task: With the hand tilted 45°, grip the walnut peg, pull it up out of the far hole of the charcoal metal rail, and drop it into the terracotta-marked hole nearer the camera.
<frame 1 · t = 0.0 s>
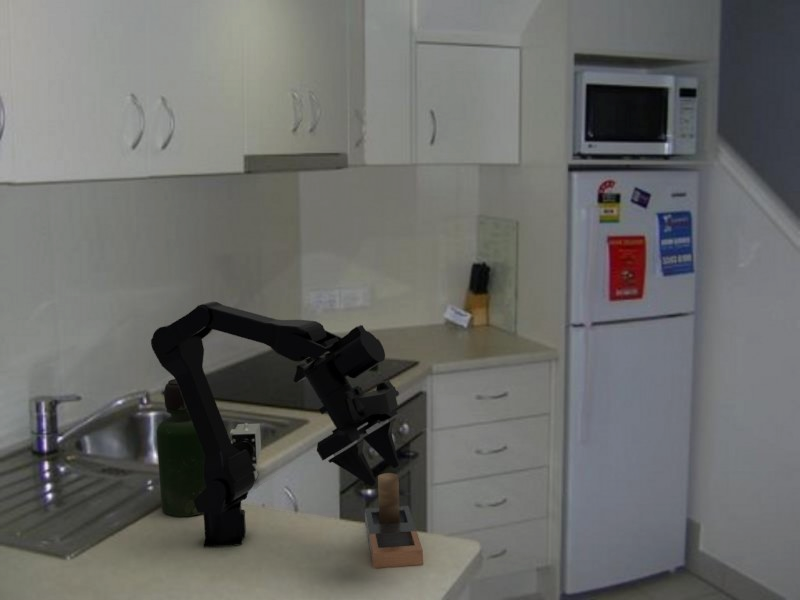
hand: (385, 475, 146), 15 cm above the worktop, tool tilted 35°, fingers open, 9 cm apart
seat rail: (392, 541, 157), on the worktop
spray bottle: (189, 508, 176), on the worktop
walnut peg: (389, 530, 162), resting in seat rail
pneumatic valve: (246, 480, 192), on the worktop
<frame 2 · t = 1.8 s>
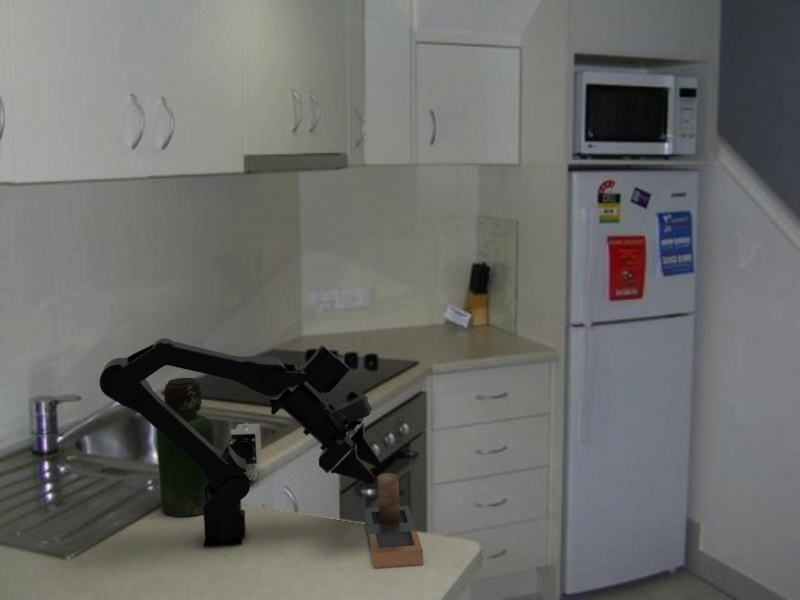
hand: (376, 473, 161), 11 cm above the worktop, tool tilted 45°, fingers open, 9 cm apart
nothing on the worktop moved.
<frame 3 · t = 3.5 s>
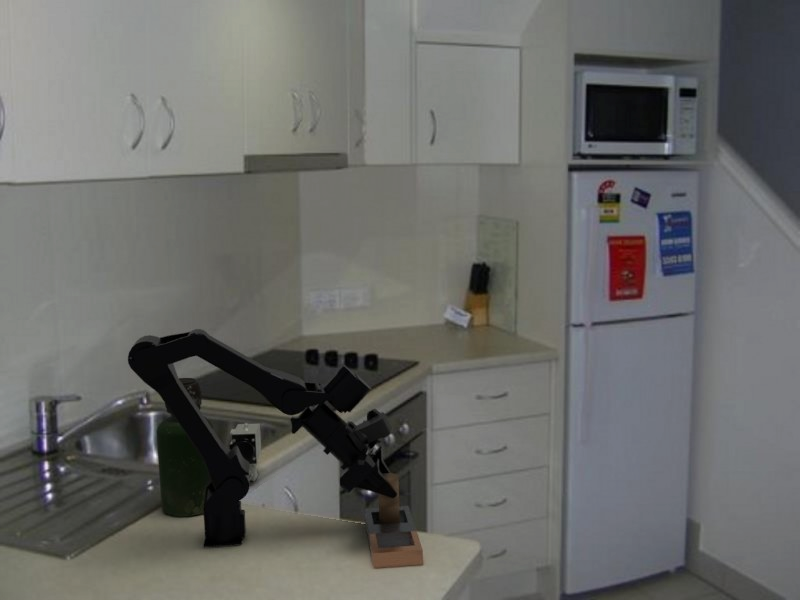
hand: (396, 492, 161), 7 cm above the worktop, tool tilted 45°, fingers closed on walnut peg, 4 cm apart
walnut peg: (389, 530, 162), resting in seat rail, touching gripper
everything else where it was.
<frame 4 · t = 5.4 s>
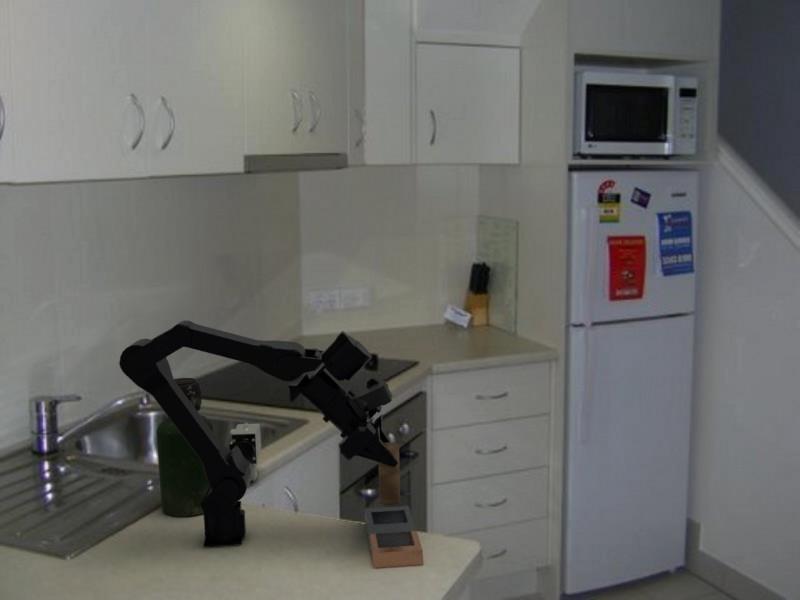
hand: (396, 461, 158), 13 cm above the worktop, tool tilted 45°, fingers closed on walnut peg, 4 cm apart
walnut peg: (389, 501, 159), point 6 cm above the worktop, touching gripper
everything else where it was.
when the fingers open (8 cm above the worktop, at t = 7.4 s): walnut peg drops 1 cm, resting in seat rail.
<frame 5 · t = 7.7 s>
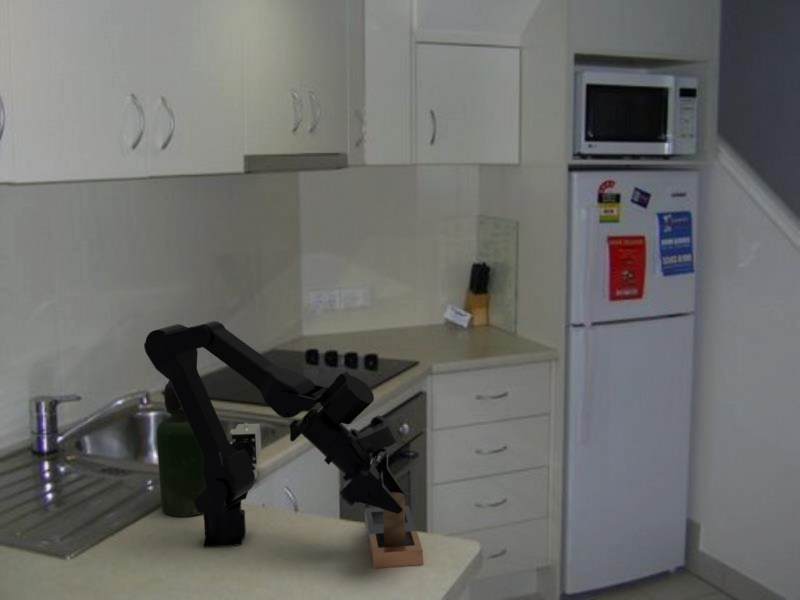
hand: (402, 504, 151), 9 cm above the worktop, tool tilted 45°, fingers open, 6 cm apart
walnut peg: (394, 553, 152), resting in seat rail
everything else where it was.
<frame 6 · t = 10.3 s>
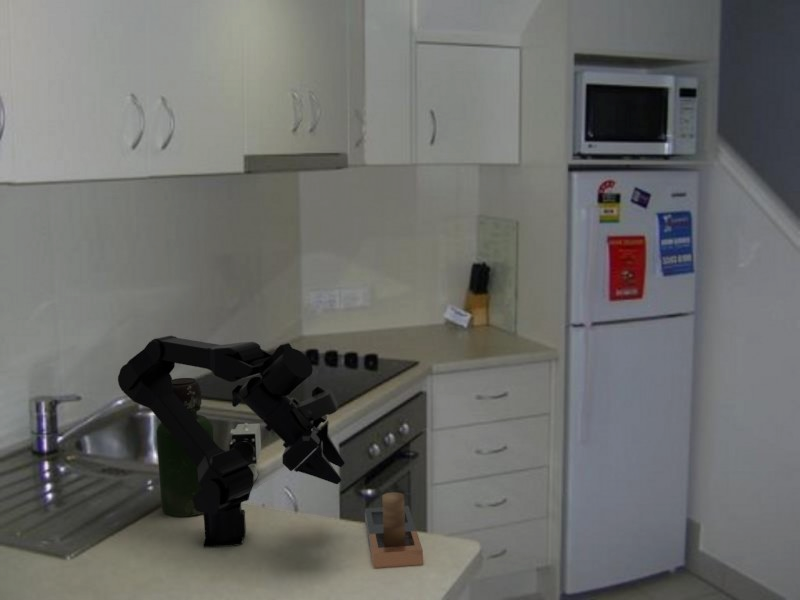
hand: (341, 473, 152), 13 cm above the worktop, tool tilted 45°, fingers open, 9 cm apart
nothing on the worktop moved.
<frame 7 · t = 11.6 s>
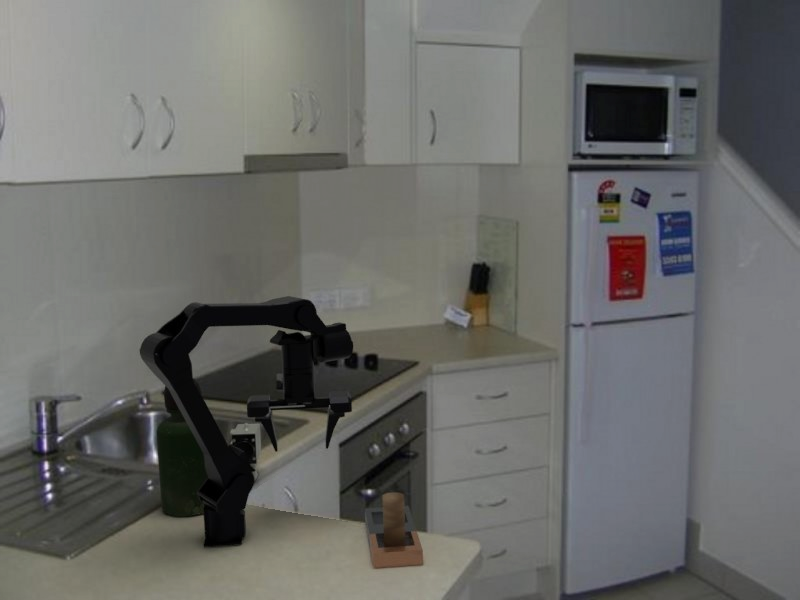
hand: (301, 449, 168), 13 cm above the worktop, tool pointing down, fingers open, 9 cm apart
nothing on the worktop moved.
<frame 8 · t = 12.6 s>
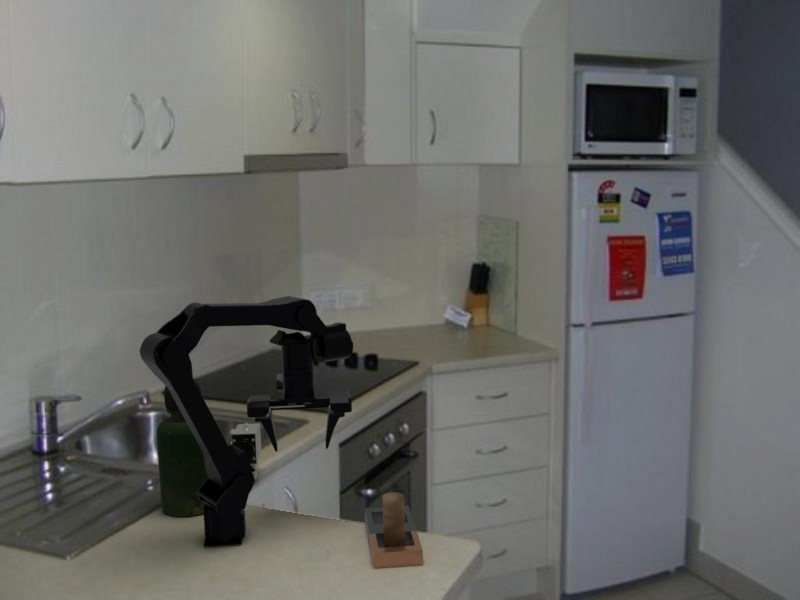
hand: (301, 449, 168), 13 cm above the worktop, tool pointing down, fingers open, 9 cm apart
nothing on the worktop moved.
at the end: walnut peg 0.1 cm from the target spot, resting in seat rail; walnut peg tilted 0°; the gripper is holding nothing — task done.
